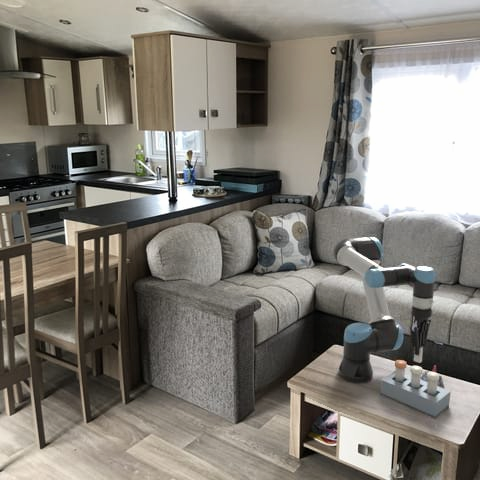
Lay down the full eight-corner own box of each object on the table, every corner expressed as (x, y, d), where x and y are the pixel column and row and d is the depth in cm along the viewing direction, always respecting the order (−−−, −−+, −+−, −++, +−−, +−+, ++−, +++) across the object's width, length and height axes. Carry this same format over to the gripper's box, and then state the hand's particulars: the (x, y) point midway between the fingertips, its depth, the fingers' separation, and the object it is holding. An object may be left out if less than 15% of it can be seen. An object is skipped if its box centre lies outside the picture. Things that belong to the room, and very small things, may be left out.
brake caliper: (452, 392, 208) (435, 369, 208) (428, 404, 212) (412, 381, 212) (448, 379, 219) (432, 357, 219) (425, 390, 223) (410, 369, 222)
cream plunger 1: (406, 387, 206) (408, 368, 204) (412, 383, 209) (414, 364, 207) (417, 392, 202) (419, 372, 200) (422, 388, 205) (424, 368, 203)
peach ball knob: (391, 381, 211) (392, 362, 209) (397, 377, 214) (398, 358, 212) (401, 385, 207) (403, 366, 205) (407, 381, 210) (408, 362, 208)
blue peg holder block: (380, 394, 211) (381, 379, 210) (395, 384, 219) (396, 370, 218) (435, 418, 194) (436, 402, 193) (448, 406, 202) (450, 391, 201)
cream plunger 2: (423, 394, 201) (424, 374, 199) (428, 390, 204) (430, 370, 202) (434, 399, 197) (436, 378, 195) (439, 394, 201) (441, 374, 198)
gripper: (423, 312, 190) (418, 369, 195) (439, 304, 199) (434, 359, 204) (404, 307, 195) (400, 363, 201) (421, 299, 204) (416, 353, 209)
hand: (417, 361), depth 202 cm, fingers closed
